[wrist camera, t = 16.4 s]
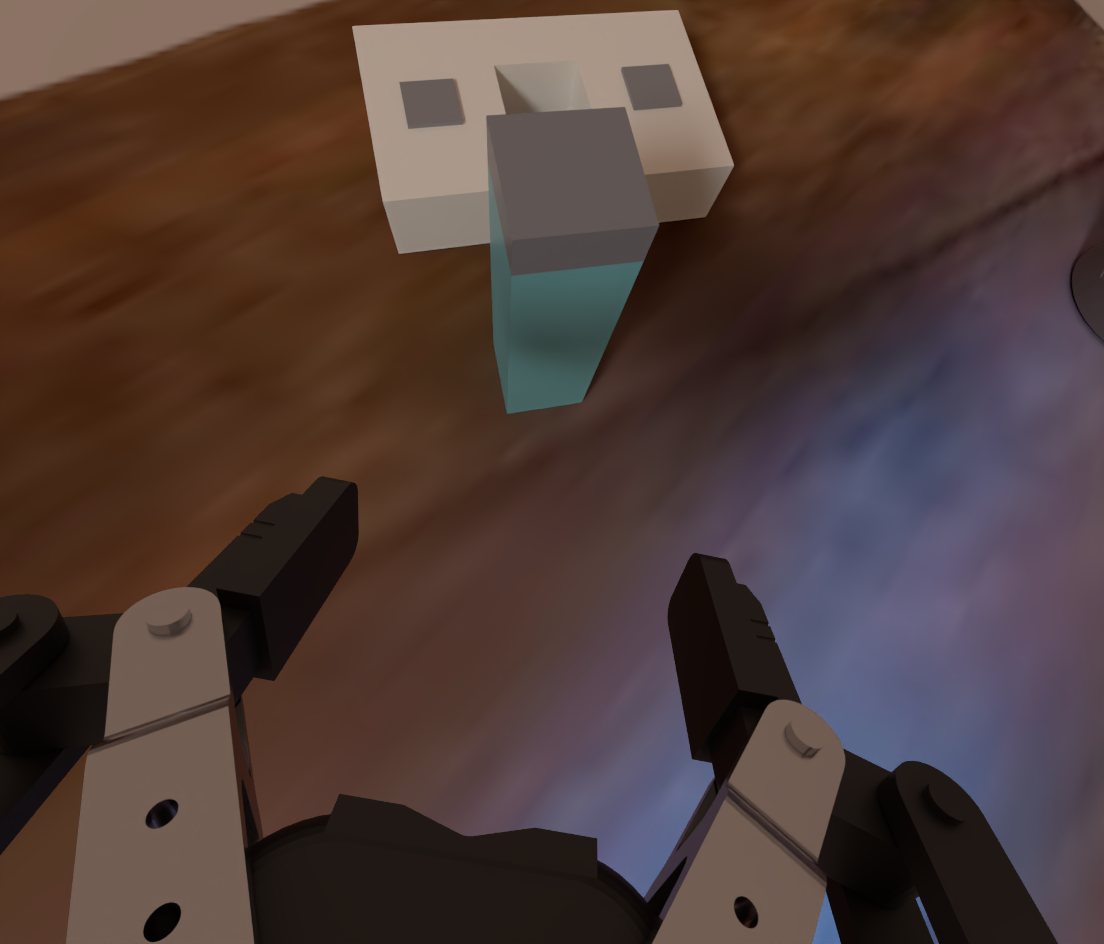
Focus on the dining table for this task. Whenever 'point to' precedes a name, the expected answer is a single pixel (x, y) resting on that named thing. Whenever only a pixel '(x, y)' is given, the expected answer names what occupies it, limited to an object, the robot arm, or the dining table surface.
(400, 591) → the dining table surface
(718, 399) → the dining table surface
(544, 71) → the block
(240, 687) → the robot arm
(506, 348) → the plug
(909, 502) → the dining table surface
